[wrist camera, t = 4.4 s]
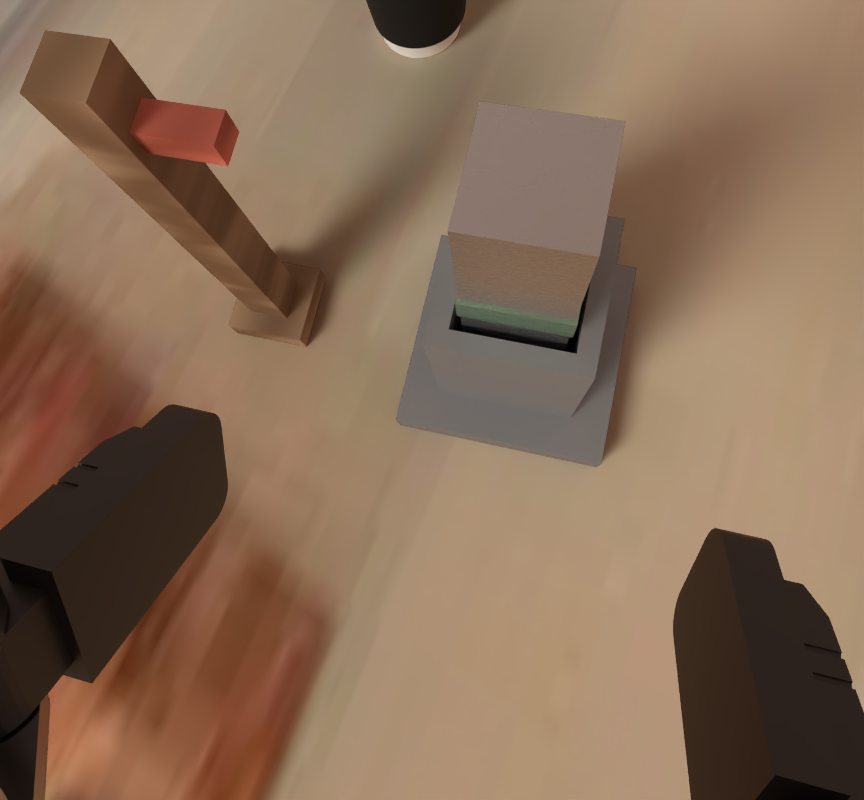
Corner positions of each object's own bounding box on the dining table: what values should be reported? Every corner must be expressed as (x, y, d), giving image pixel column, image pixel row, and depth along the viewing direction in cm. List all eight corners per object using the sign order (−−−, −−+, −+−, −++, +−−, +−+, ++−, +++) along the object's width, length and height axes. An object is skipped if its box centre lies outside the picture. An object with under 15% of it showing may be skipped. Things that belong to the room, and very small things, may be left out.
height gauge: (237, 332, 34) (-27, 119, 17) (258, 265, 35) (26, -4, 17) (336, 352, 33) (166, 150, 16) (355, 283, 34) (212, 19, 17)
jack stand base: (400, 424, 32) (365, 381, 23) (443, 248, 34) (426, 146, 25) (596, 467, 30) (637, 438, 22) (630, 279, 32) (680, 184, 24)
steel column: (466, 372, 30) (443, 233, 16) (484, 292, 31) (476, 98, 17) (552, 389, 29) (603, 261, 16) (568, 307, 30) (629, 118, 17)
